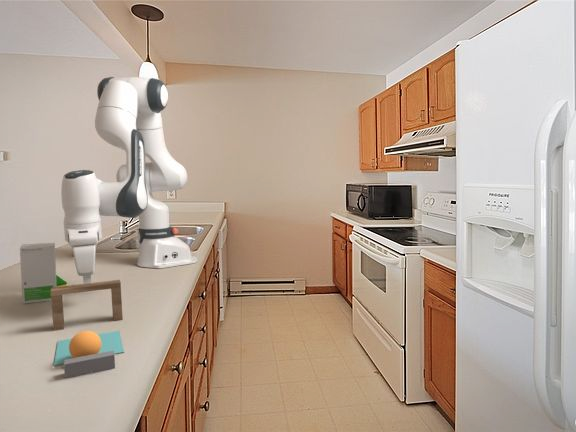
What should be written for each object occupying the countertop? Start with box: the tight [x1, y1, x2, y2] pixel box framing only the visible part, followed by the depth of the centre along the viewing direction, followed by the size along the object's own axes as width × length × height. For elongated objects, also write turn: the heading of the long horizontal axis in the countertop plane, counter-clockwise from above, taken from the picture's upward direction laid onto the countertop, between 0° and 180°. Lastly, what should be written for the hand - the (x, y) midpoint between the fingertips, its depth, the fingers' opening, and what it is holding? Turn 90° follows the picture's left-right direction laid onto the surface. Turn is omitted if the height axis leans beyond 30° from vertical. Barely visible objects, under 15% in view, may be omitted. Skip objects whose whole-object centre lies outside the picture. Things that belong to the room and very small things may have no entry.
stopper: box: [63, 351, 116, 379], centre depth 73 cm, size 8×2×2 cm, turn 117°
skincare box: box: [19, 242, 57, 305], centre depth 114 cm, size 8×7×16 cm
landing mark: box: [53, 330, 125, 367], centre depth 83 cm, size 12×12×1 cm
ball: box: [69, 330, 101, 358], centre depth 77 cm, size 6×6×6 cm
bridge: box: [50, 279, 124, 331], centre depth 95 cm, size 3×14×9 cm, turn 117°
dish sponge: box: [56, 274, 68, 287], centre depth 127 cm, size 7×14×2 cm, turn 43°
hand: (87, 283), depth 109 cm, fingers closed
